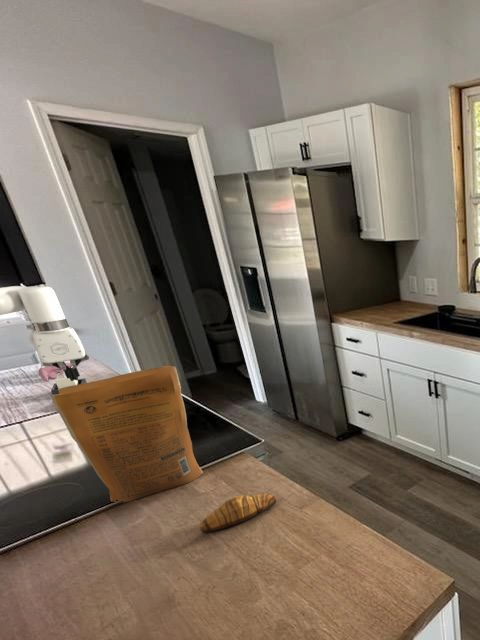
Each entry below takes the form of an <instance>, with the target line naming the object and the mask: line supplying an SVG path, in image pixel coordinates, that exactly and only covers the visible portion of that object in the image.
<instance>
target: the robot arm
mask: <svg viewBox="0 0 480 640" xmlns="http://www.w3.org/2000/svg"><path fill="white" fill-rule="evenodd" d="M23 311H26V313H27V315H28V318H29V319H30V322H31V323H30V324H26V325H25V326H26V329H27V330H30V329H33V330H35V331H36V332H34V333H33V338H34V342H35V345H36V348H37V351H38V352H37V351H36V352H37V355H38V354H39V355H38V357H39V356H40V358H41V360H42V362H43V366H55V367H57V368H60V369H62V370H64V373H65V375H66V377H67V379H68V378H70V380H71V381H73V380H78V379H79V377H81V375H80V372H79V370H78V366H79V365H80V364H81V363H82V362H86V361H88V360H90V356H89V355H88V354H87V353H86V348H85V346H84V344H83V342H82V341H81V339H80V337H79V335H78V333H77V331H76V330H75V329H74V328H73V327H70V325H69V323H68V321H67V318H66V315H65V313H64V310H63V309H62V306H61V304H60V301H59V298H58V297H57V294H56V292H55V290H54V288H52V286H51V287H50V286H44V285H43V286H42V285H41V286H37V285H36V286H23V285H14V286H5V287H0V316H3V315H8V314H12V313H17V312H23ZM40 358H39V359H40ZM68 361H69V363H70V364H71V366H70V368H69V367H68V366H67V365H66V364H65V362H68Z"/></svg>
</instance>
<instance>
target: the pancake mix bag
mask: <svg viewBox="0 0 480 640" xmlns="http://www.w3.org/2000/svg"><path fill="white" fill-rule="evenodd" d="M58 390H59V393H60V394H58V395H52V394H51V395H50V396H51V401H52V404H53V407H54V410H56V412H57V413H58V414H59V416H60V417H61V420H62V421H63V423H64V425H65V427H66V429H67V431H68V433H69V434H70V436H71V439H72V440H74V441H75V443H76V444H77V447H78V448H79V450H80V451H81V453H82V454H83V455H84V456H85V458H86V459H87V461H88V462H89V464H90V465H91V466H92V468H93V470H94V471H95V473H96V475H97V476H98V477H99V479H100V480H101V481H102V482H103V484H104V485H105V486H106V487H107V489H108V490H109V498H110V499H109V500H110V502H112V503H113V502H115V503H128V502H133V501H134V502H135V501H137V500H140V499H142V498H146V497H149V496H152V495H155V494H158V493H161V492H164V491H168V490H170V489H174V488H177V487H180V486H183V485H187V484H190V483H191V482H194V481H195V480H197V478H199V477H200V476H201V475H202V474H203V473H204V472H203V470H202V468H201V467H200V466H199V464H198V462H197V460H196V458H195V455H194V452H193V451H194V450H193V442H192V440H191V436H190V432H189V428H188V422H187V421H188V420H187V413H186V408H185V407H186V406H185V402H184V399H183V396H182V387H181V382H180V379H179V374H178V371H177V366H173V365H163V366H157V367H152V368H146V369H142V370H136V371H132V372H126V373H123V374H119V375H115V376H112V377H111V376H110V377H108V378H104V379H99V380H95V381H89V382H88V381H87V383H84V384H79V385H73V386H68V387H64V388H60V389H58ZM116 500H118V501H116ZM121 501H123V502H121Z"/></svg>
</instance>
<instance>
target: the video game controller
mask: <svg viewBox="0 0 480 640" xmlns="http://www.w3.org/2000/svg"><path fill="white" fill-rule="evenodd" d="M64 362H65V364H66V365H67V366H68V367H69V368H70V366H71V364H70V362H68V361H64ZM56 370H61V371H60V372H59V375H62V373H63V372H64V370H62V369H60V368H57V367H55V366H42V367H41V366H40V368H39V369H38V375H39V376H40V377H41V379H42V380H43V381H44V382H49V379H56V377H57V376H58V372H57V373H55V372H53V371H56Z"/></svg>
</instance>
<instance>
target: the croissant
mask: <svg viewBox="0 0 480 640" xmlns="http://www.w3.org/2000/svg"><path fill="white" fill-rule="evenodd" d="M276 503H277V497H276V496H275V495H274V494H269V493H259V494H250V495H246V494H241V495H237V496H233V497H231V498H229V499H228V500H226V501H224V502H223V504H222V505H221V506H219V507H218V508H216V509H215V510H214V511H212V512H211V513H209V515H207V516H206V517H205V518H204V519H203V520H202V522H200V523H199V531H201V532H202V534H205V533H212V532H215V531H220V530H224V529H226V528H229V527H231V526H235V525H238V524H241V523H244V522H246V521H248V520H250V519H251V518H253V517H255V516H256V515H259V514H261V513H263V512H265V511H266V510H268V509H270V508H271V507H272V506H274V505H275V504H276Z"/></svg>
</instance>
